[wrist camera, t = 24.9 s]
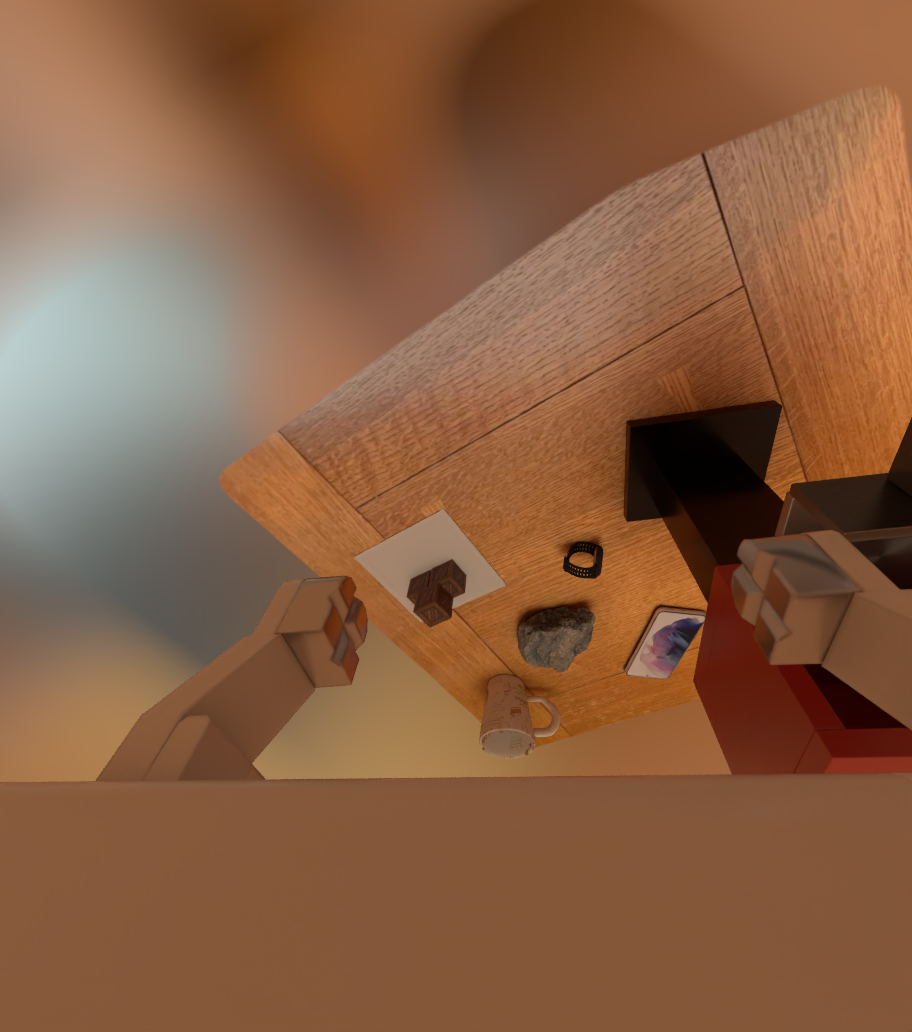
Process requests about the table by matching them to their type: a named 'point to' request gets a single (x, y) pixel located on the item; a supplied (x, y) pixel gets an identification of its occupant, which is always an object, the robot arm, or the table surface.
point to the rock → (555, 637)
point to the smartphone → (664, 642)
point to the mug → (511, 719)
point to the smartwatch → (594, 571)
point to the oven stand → (726, 635)
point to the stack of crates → (431, 568)
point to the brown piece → (861, 513)
